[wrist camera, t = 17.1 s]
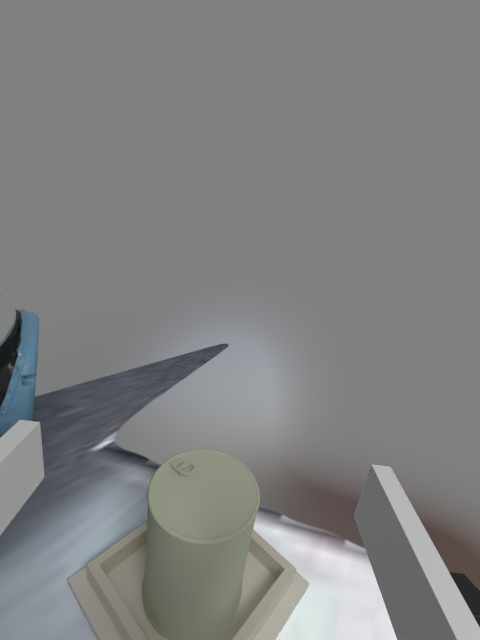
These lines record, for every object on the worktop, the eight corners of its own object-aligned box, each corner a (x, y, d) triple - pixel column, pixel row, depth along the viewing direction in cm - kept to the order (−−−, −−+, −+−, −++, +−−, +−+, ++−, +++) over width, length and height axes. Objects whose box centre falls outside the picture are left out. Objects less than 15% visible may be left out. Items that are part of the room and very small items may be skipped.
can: (194, 518, 36) (205, 430, 32) (260, 580, 31) (282, 484, 27) (120, 584, 29) (123, 482, 25) (190, 678, 24) (206, 568, 20)
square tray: (179, 791, 19) (182, 771, 19) (67, 582, 29) (66, 563, 28) (308, 586, 31) (313, 569, 31) (199, 486, 41) (201, 470, 40)
